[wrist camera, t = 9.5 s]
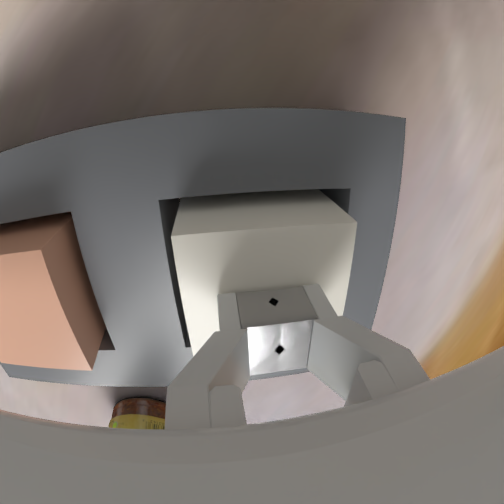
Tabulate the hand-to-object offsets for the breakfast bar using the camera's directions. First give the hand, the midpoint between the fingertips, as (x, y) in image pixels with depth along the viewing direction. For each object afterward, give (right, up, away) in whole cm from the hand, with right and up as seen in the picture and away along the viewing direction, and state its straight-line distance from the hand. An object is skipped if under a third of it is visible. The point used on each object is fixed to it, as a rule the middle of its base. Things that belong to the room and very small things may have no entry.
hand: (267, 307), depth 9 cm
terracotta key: (-9, +1, +3) cm, 10 cm away
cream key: (-1, +2, +3) cm, 4 cm away
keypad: (-5, +3, +5) cm, 8 cm away
